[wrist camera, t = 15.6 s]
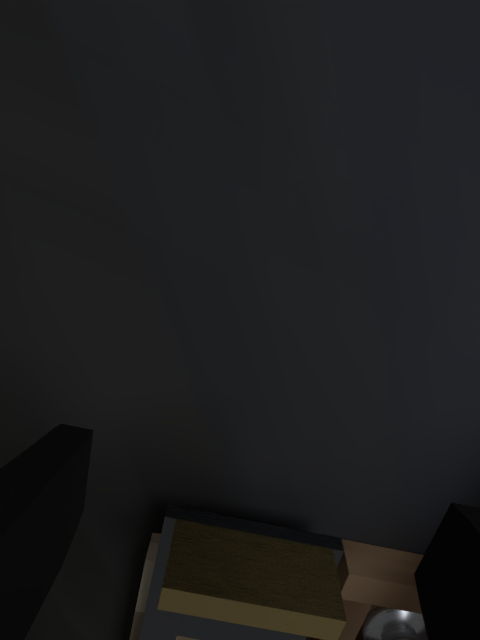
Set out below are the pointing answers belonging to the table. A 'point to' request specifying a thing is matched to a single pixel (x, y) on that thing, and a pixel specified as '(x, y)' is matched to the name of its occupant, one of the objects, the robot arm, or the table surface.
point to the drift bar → (242, 581)
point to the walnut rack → (375, 583)
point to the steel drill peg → (393, 625)
